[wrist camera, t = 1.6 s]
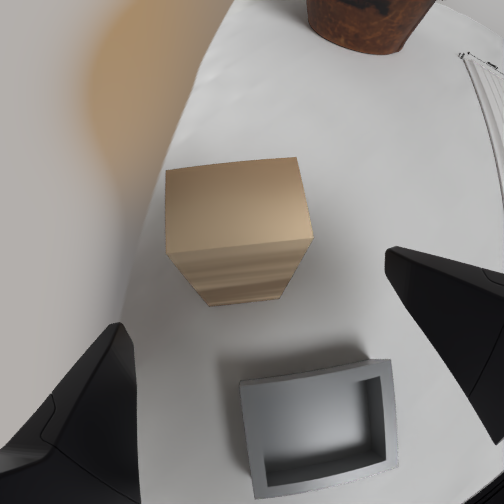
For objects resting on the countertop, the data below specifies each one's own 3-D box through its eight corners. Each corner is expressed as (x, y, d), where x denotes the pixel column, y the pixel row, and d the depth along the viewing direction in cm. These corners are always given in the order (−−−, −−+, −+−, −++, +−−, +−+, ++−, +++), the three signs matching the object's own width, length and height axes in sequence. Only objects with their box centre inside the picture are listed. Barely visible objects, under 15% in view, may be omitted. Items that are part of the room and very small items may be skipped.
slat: (279, 298, 20) (313, 237, 9) (209, 306, 20) (165, 253, 9) (272, 254, 21) (296, 157, 10) (205, 261, 20) (165, 170, 10)
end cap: (378, 453, 16) (398, 466, 13) (253, 479, 16) (254, 499, 13) (370, 359, 18) (390, 359, 15) (240, 380, 18) (238, 386, 15)
